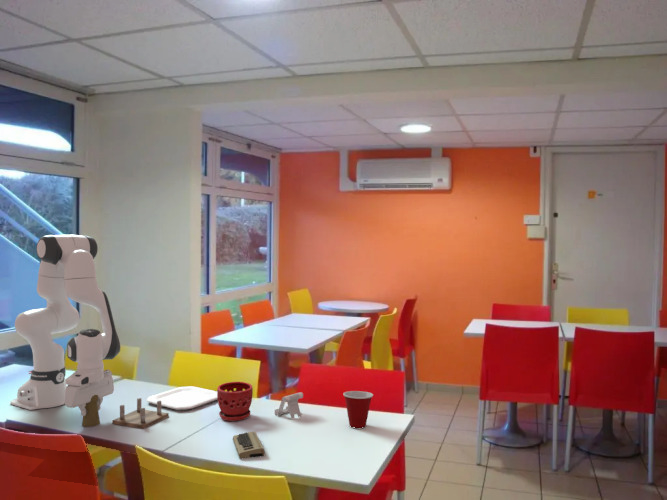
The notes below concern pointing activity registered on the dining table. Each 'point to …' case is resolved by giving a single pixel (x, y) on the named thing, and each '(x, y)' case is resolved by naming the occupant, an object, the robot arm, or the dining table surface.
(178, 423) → the dining table surface
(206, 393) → the plate
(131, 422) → the standoff base
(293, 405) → the portable electronic device stand
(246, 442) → the computer
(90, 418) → the olive gourd
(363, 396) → the plastic cup
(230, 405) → the plant pot
